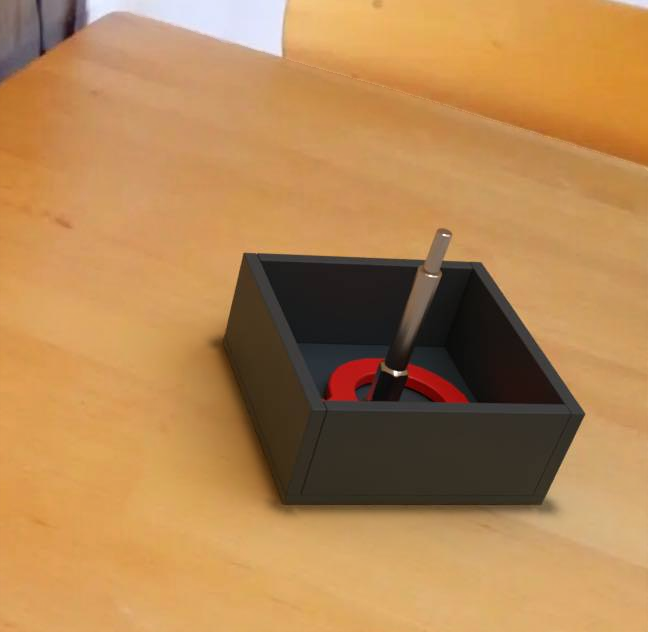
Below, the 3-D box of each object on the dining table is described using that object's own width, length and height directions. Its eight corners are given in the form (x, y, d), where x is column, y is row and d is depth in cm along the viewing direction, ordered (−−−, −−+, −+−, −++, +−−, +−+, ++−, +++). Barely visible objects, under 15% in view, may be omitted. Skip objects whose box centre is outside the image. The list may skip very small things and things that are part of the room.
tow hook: (361, 357, 75) (290, 419, 69) (431, 153, 67) (359, 203, 61) (490, 418, 72) (429, 489, 66) (580, 213, 64) (521, 271, 58)
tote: (448, 348, 78) (481, 261, 74) (542, 504, 67) (586, 413, 63) (222, 342, 75) (243, 251, 71) (283, 504, 65) (311, 409, 60)
